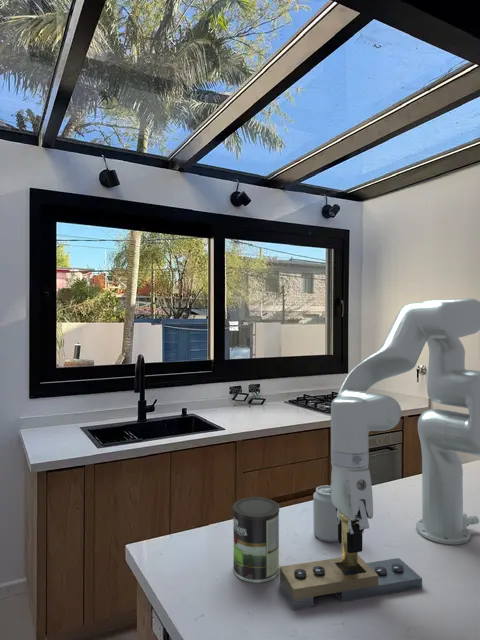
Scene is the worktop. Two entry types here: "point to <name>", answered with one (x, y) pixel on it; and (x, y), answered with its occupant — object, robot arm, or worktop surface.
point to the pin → (347, 558)
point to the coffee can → (256, 539)
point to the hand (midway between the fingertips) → (349, 546)
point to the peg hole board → (345, 580)
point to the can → (325, 515)
